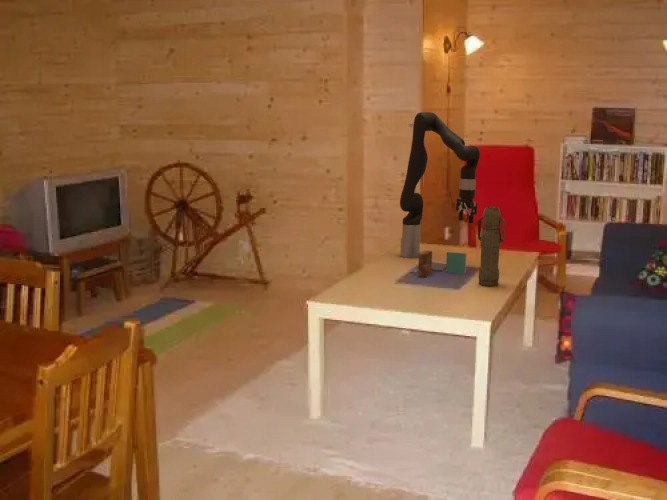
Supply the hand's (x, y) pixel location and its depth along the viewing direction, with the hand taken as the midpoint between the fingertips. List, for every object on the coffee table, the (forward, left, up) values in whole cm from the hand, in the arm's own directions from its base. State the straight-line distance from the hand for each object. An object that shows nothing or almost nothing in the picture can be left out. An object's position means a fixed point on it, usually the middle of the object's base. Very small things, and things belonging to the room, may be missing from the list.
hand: (465, 221), depth 372 cm
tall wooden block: (-14, -19, -24) cm, 33 cm away
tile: (-2, -8, -24) cm, 25 cm away
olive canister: (+17, -23, -24) cm, 38 cm away
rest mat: (-15, -1, -24) cm, 28 cm away
